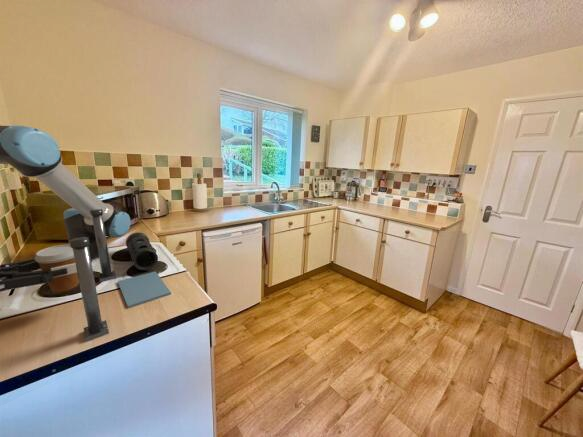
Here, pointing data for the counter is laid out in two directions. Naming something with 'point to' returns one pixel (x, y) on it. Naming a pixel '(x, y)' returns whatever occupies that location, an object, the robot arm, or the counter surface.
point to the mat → (143, 289)
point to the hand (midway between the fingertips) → (81, 261)
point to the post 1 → (88, 289)
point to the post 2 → (102, 246)
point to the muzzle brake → (141, 251)
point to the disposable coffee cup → (57, 258)
